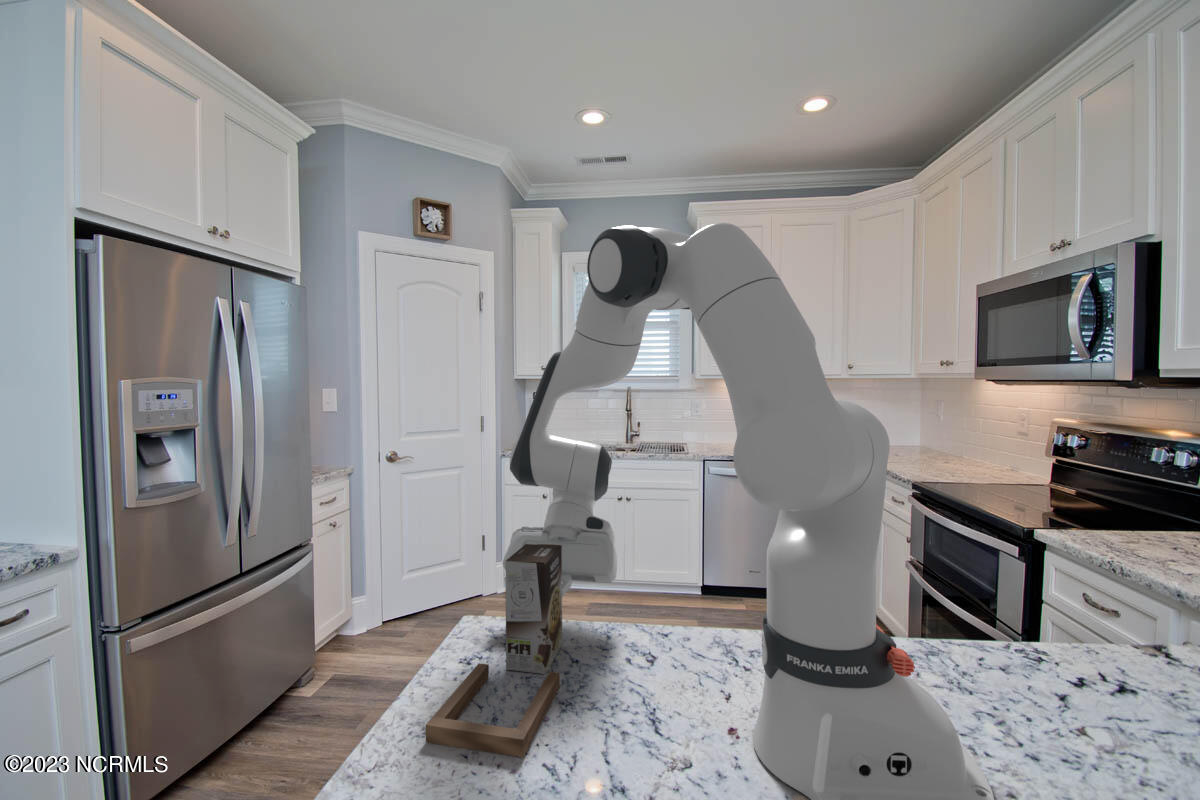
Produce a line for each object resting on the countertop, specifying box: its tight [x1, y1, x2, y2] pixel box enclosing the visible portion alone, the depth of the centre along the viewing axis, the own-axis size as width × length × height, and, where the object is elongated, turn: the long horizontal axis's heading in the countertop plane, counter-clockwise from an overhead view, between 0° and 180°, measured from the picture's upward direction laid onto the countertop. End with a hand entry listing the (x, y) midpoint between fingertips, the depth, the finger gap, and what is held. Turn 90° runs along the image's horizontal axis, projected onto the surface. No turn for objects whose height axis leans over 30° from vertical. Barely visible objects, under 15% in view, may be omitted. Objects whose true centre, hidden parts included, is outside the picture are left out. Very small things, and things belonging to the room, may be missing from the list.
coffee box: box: [505, 544, 563, 675], centre depth 76 cm, size 9×6×16 cm
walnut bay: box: [425, 663, 561, 758], centre depth 63 cm, size 12×14×2 cm
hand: (551, 602), depth 83 cm, fingers closed
